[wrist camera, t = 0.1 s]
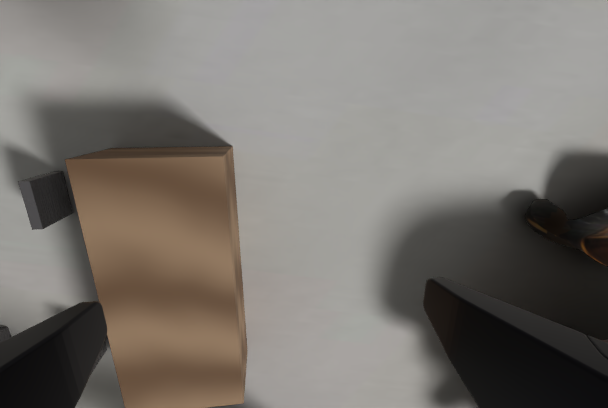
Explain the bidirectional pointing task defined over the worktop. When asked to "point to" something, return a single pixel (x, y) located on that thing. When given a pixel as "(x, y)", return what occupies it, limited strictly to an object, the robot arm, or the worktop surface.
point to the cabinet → (159, 267)
